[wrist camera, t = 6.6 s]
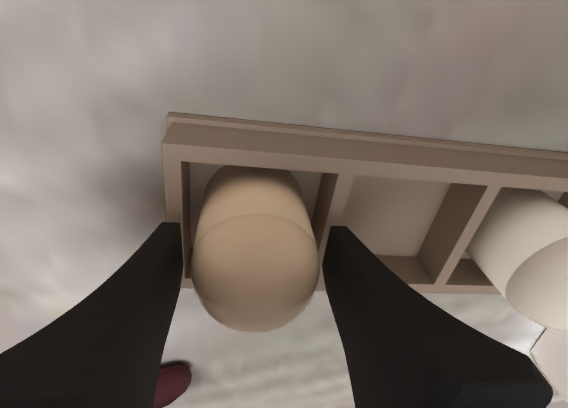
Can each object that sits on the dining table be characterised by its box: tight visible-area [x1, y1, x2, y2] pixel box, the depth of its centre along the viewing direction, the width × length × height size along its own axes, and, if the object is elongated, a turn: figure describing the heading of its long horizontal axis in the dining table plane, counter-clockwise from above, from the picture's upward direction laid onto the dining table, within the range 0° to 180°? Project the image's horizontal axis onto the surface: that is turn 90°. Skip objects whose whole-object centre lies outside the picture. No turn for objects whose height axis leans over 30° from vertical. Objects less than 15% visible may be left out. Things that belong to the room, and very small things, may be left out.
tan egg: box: [191, 165, 320, 333], centre depth 12 cm, size 4×4×6 cm
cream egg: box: [465, 187, 568, 332], centre depth 14 cm, size 4×4×6 cm
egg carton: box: [161, 112, 568, 294], centre depth 15 cm, size 20×7×2 cm, turn 82°
